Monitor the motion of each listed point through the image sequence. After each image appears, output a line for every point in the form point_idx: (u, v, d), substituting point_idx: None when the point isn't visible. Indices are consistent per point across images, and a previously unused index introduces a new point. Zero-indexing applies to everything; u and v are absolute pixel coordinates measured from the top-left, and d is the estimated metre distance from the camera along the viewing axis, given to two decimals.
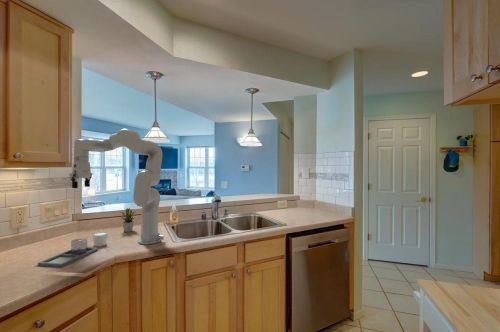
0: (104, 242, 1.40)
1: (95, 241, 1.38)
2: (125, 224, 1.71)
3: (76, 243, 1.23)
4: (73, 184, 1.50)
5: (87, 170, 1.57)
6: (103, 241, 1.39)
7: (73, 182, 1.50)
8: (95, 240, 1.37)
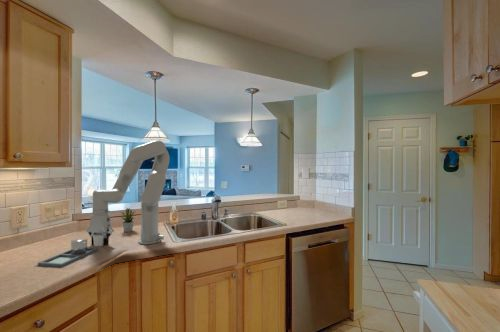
0: None
1: (95, 241, 1.38)
2: (125, 224, 1.71)
3: (76, 243, 1.23)
4: (107, 240, 1.40)
5: None
6: None
7: (107, 238, 1.40)
8: (95, 240, 1.37)
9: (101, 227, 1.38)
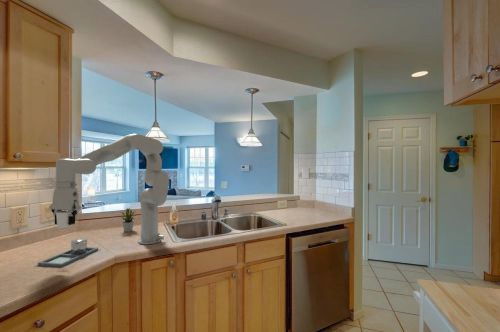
0: None
1: (58, 219, 1.14)
2: (125, 224, 1.71)
3: (76, 243, 1.23)
4: (73, 219, 1.17)
5: None
6: None
7: (73, 217, 1.17)
8: (58, 218, 1.14)
9: (65, 203, 1.15)
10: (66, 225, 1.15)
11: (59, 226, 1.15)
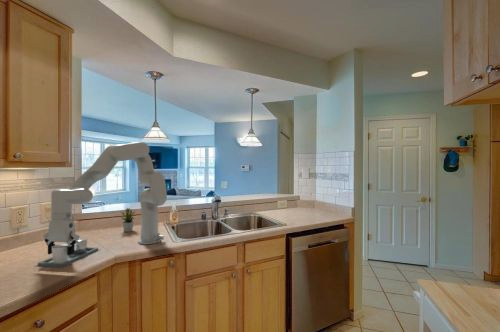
0: (65, 256, 1.15)
1: (54, 255, 1.13)
2: (125, 224, 1.71)
3: (76, 243, 1.23)
4: (72, 249, 1.15)
5: None
6: (64, 254, 1.14)
7: (72, 247, 1.15)
8: (54, 253, 1.12)
9: (61, 235, 1.13)
10: (62, 260, 1.14)
11: (55, 261, 1.13)
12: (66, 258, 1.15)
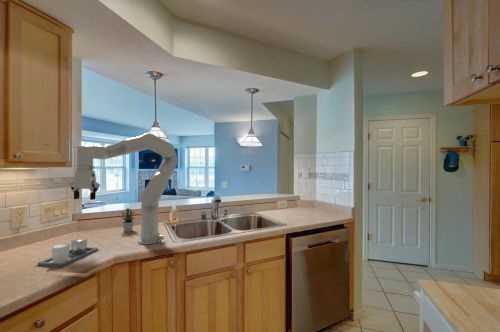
0: (65, 256, 1.15)
1: (54, 255, 1.13)
2: (125, 224, 1.71)
3: (76, 243, 1.23)
4: (94, 195, 1.39)
5: None
6: (64, 254, 1.14)
7: (94, 193, 1.39)
8: (54, 253, 1.13)
9: (85, 182, 1.37)
10: (62, 260, 1.14)
11: (55, 261, 1.13)
12: (66, 258, 1.15)
